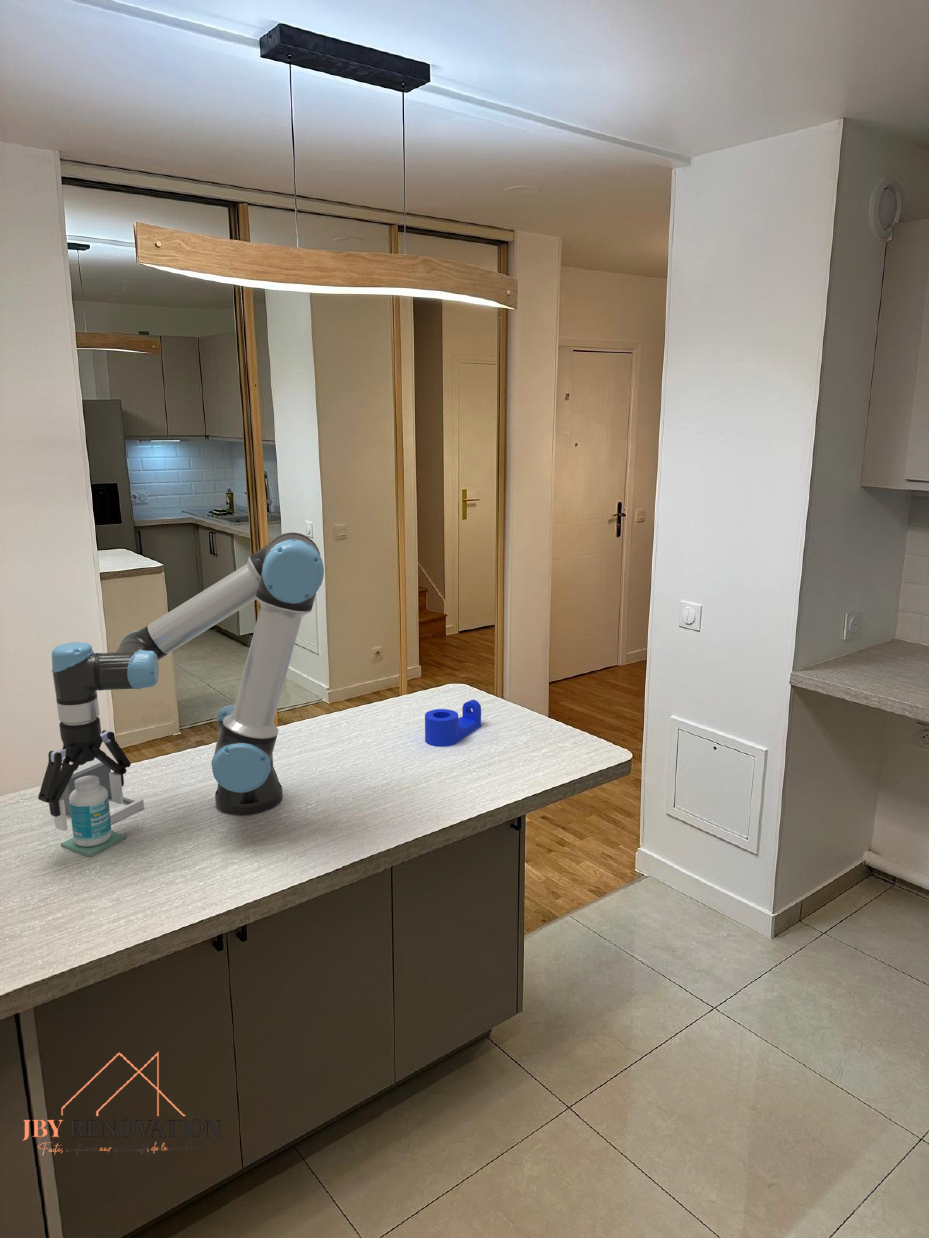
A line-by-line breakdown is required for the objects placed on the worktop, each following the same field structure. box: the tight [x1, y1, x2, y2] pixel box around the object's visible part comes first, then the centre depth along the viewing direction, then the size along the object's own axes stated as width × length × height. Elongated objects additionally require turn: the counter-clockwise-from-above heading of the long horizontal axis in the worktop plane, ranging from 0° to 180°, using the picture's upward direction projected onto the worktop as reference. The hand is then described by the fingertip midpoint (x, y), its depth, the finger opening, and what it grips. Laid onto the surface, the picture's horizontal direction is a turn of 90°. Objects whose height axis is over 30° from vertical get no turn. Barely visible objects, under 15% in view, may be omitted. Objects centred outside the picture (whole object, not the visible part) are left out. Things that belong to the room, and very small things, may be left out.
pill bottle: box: [69, 776, 113, 847], centre depth 177 cm, size 8×7×14 cm
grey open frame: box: [60, 758, 145, 825], centre depth 192 cm, size 16×11×10 cm
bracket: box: [424, 699, 482, 748], centre depth 236 cm, size 20×9×8 cm, turn 143°
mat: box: [60, 830, 127, 858], centre depth 179 cm, size 9×9×1 cm
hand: (90, 814), depth 178 cm, fingers open, 13 cm apart
